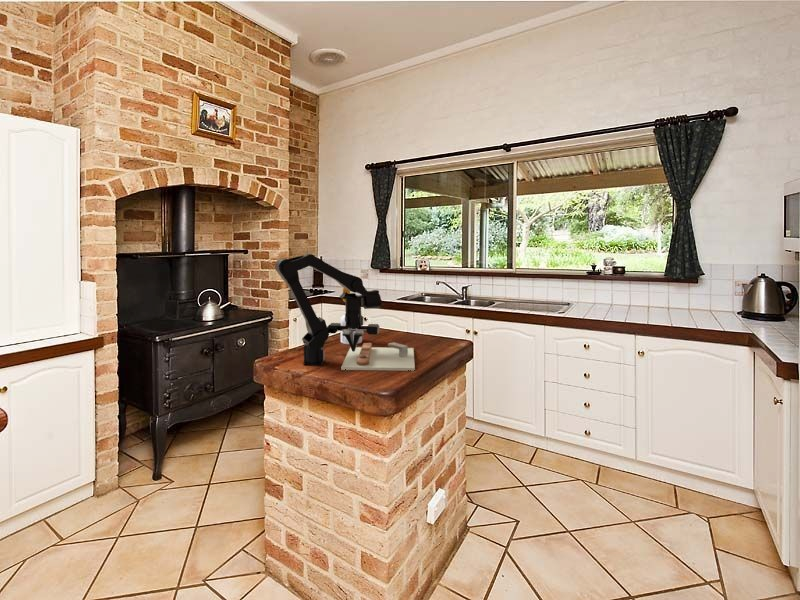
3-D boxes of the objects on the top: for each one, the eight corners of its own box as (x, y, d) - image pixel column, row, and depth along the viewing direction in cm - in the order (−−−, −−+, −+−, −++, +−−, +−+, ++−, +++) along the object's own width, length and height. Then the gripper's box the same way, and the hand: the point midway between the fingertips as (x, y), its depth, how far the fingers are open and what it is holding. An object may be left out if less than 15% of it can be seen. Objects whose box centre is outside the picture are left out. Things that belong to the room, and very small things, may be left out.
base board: (341, 369, 153) (341, 367, 153) (350, 349, 179) (350, 347, 179) (414, 370, 153) (414, 367, 153) (413, 350, 178) (413, 347, 178)
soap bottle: (352, 346, 184) (351, 286, 181) (336, 342, 190) (335, 284, 186) (366, 341, 191) (366, 284, 188) (350, 338, 197) (350, 282, 193)
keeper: (401, 360, 165) (401, 347, 164) (387, 355, 170) (387, 343, 170) (407, 358, 167) (407, 346, 166) (393, 354, 173) (393, 342, 172)
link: (368, 364, 155) (368, 357, 154) (355, 364, 155) (355, 357, 154) (373, 348, 176) (373, 341, 176) (361, 347, 176) (361, 341, 176)
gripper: (381, 306, 172) (381, 346, 175) (333, 305, 174) (334, 344, 177) (377, 312, 161) (377, 354, 164) (326, 310, 163) (327, 352, 166)
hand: (353, 351), depth 168 cm, fingers closed
